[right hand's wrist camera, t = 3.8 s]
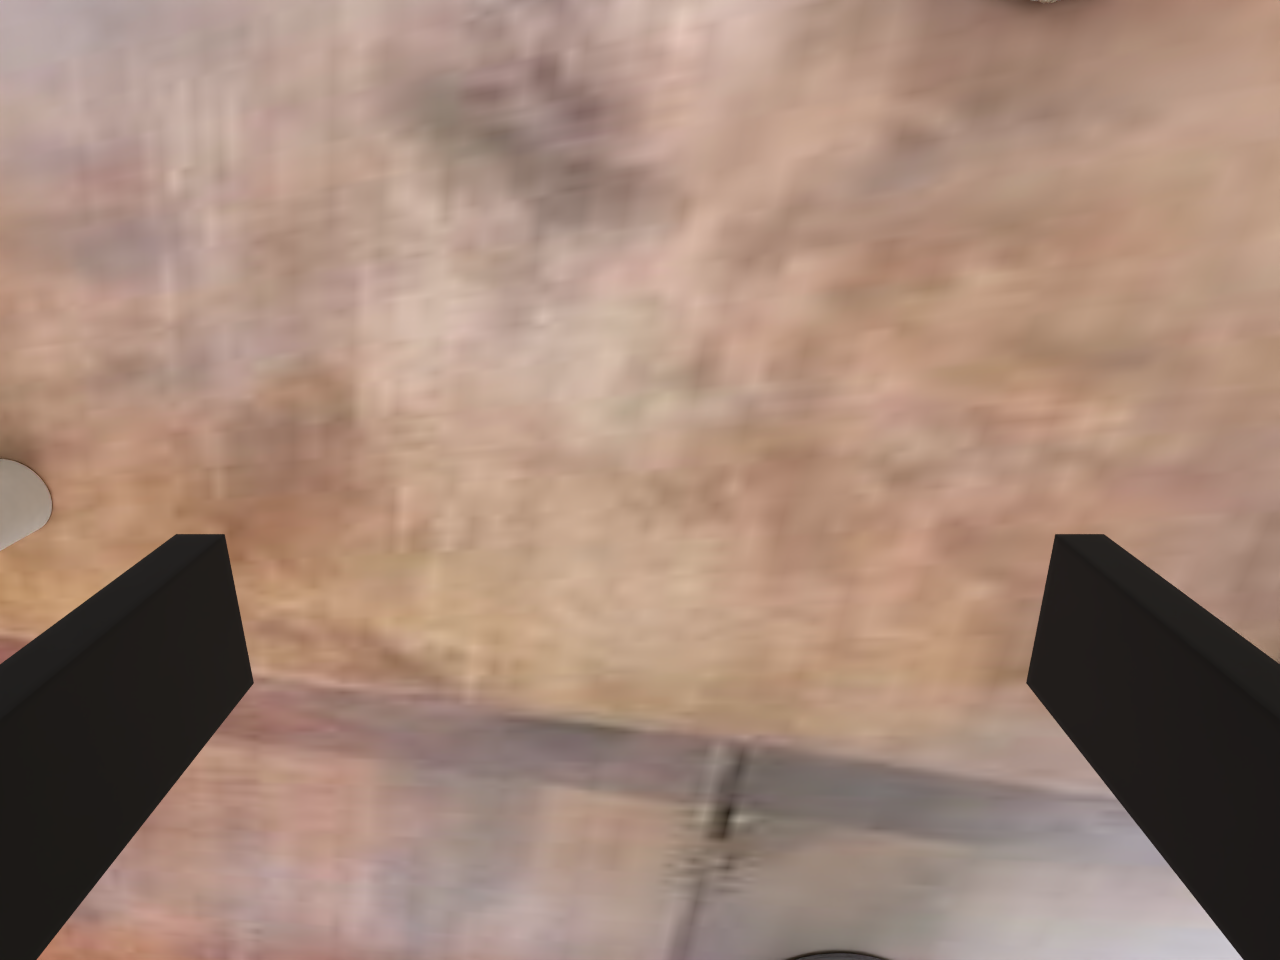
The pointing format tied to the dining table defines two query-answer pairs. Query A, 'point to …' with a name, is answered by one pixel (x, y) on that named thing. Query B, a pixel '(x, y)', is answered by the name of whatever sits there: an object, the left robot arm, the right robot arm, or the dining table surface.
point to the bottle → (21, 502)
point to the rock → (1046, 1)
